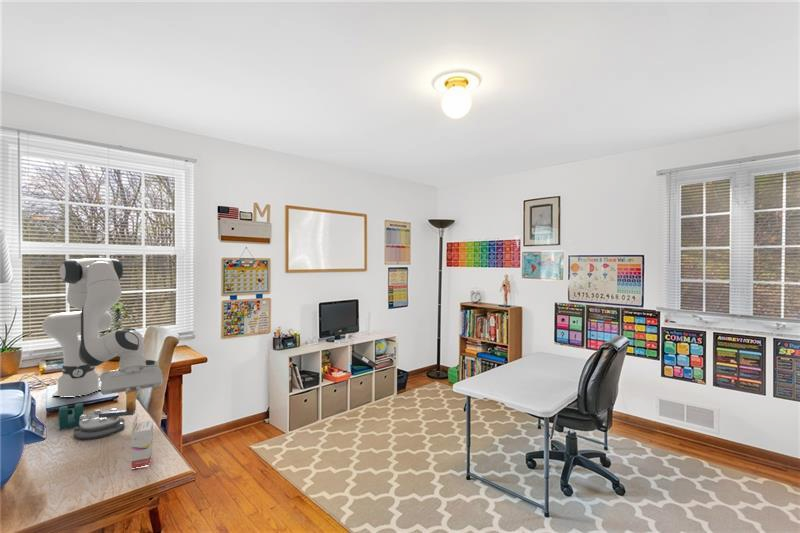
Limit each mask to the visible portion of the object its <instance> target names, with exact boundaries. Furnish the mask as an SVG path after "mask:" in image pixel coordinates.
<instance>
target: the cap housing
mask: <svg viewBox="0 0 800 533" xmlns="http://www.w3.org/2000/svg"><path fill="white" fill-rule="evenodd" d="M125 422H126V421H125V419H124V418H122V417H120V422H119V423H118V424H117V425H115V426H113V427H111V428H108V429H104V430H100V431H94V432H83V431H80V430H79V426H78V427H74V429H73V438H74V439H75V440H78V441H91V440H98V439H102V438H107V437H110V436H113V435H116V434H118V433H120V432H121V431H123V430H124V428H125V424H126V423H125Z"/></svg>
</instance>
